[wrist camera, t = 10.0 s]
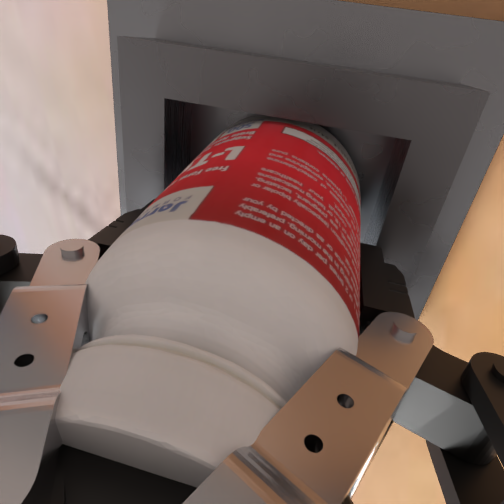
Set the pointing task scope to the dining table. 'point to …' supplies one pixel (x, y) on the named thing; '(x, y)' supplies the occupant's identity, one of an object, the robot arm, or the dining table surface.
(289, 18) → the block
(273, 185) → the pill bottle
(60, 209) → the dining table surface
